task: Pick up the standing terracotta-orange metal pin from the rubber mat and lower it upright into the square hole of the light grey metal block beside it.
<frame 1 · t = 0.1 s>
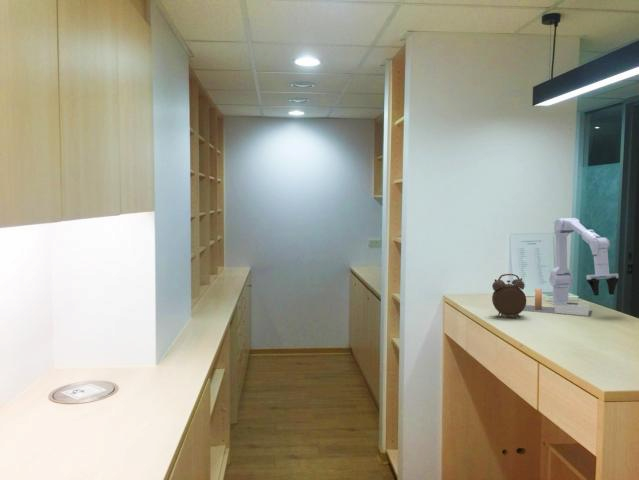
hand: (604, 294, 236), 11 cm above the counter, tool pointing down, fingers open, 7 cm apart
pipe connector: (510, 303, 273), on the counter
hole block: (572, 312, 248), resting on rubber mat
rubber mat: (556, 311, 252), on the counter
pin: (538, 309, 256), resting on rubber mat
alarm clock: (508, 317, 243), on the counter
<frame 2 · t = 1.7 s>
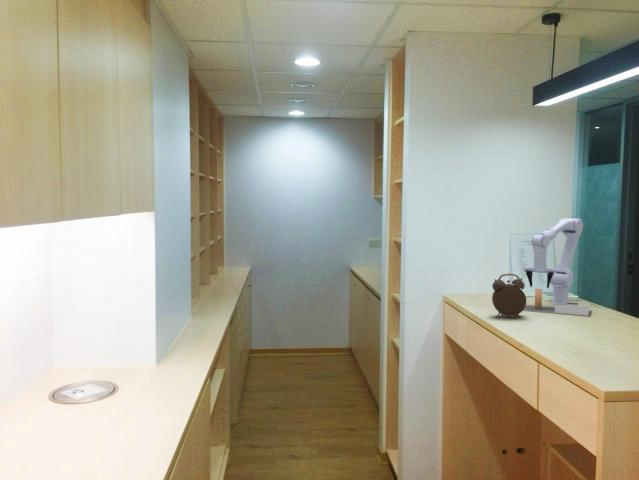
hand: (539, 287, 258), 11 cm above the counter, tool pointing down, fingers open, 7 cm apart
nothing on the counter moved.
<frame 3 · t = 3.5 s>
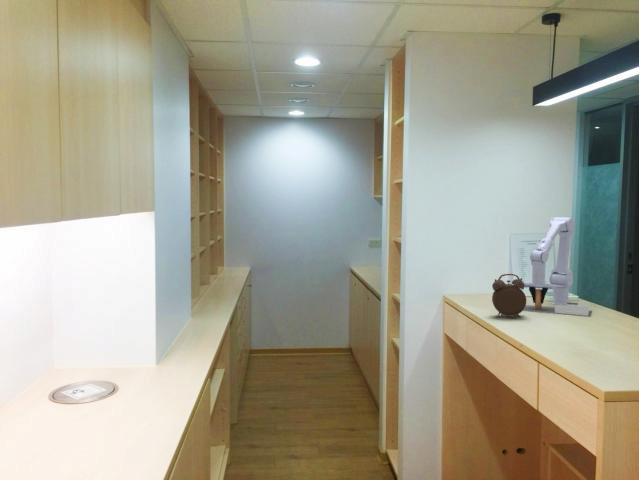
hand: (538, 302, 256), 3 cm above the counter, tool pointing down, fingers closed on pin, 3 cm apart
pin: (538, 309, 256), resting on rubber mat, touching gripper
everything else where it was.
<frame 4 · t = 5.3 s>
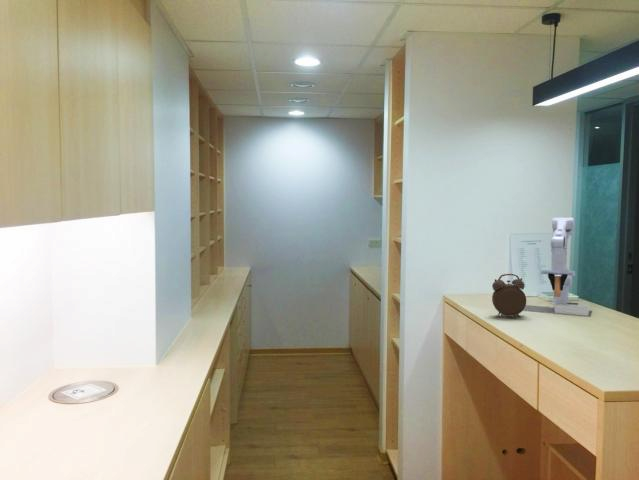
hand: (557, 289, 251), 10 cm above the counter, tool pointing down, fingers closed on pin, 3 cm apart
pin: (557, 296, 251), point 7 cm above the counter, touching gripper
everything else where it was.
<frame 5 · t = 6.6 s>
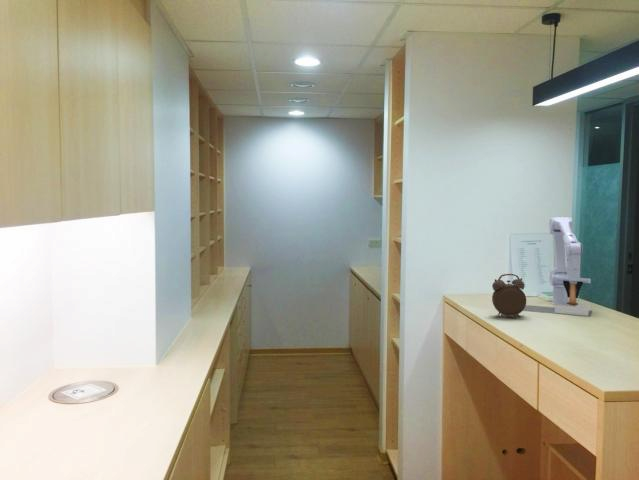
hand: (572, 297, 248), 7 cm above the counter, tool pointing down, fingers closed on pin, 3 cm apart
pin: (572, 303, 248), point 4 cm above the counter, touching gripper
everything else where it was.
when the fingers open (5 cm above the counter, at t = 7.4 s): pin drops 2 cm, resting on rubber mat.
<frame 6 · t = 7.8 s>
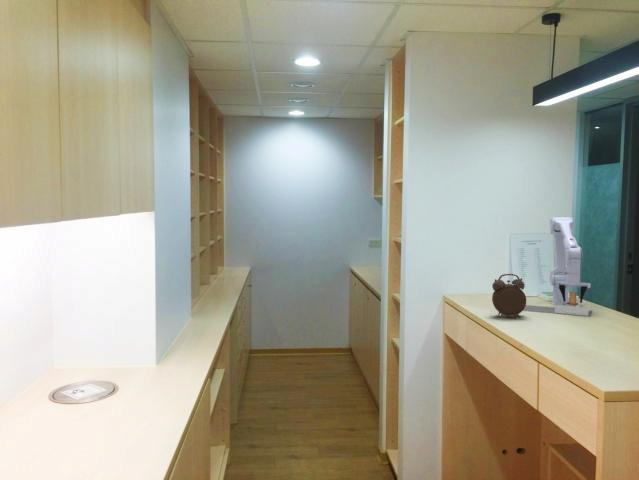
hand: (572, 301, 248), 5 cm above the counter, tool pointing down, fingers open, 6 cm apart
pin: (572, 311, 248), resting on rubber mat
everything else where it was.
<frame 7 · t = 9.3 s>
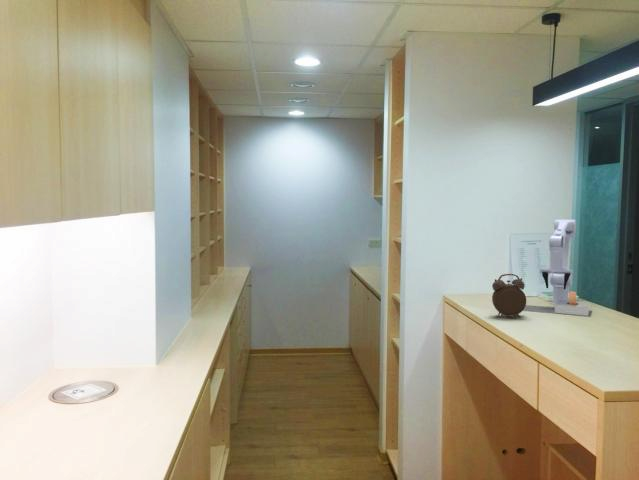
hand: (555, 288, 255), 10 cm above the counter, tool pointing down, fingers open, 7 cm apart
nothing on the counter moved.
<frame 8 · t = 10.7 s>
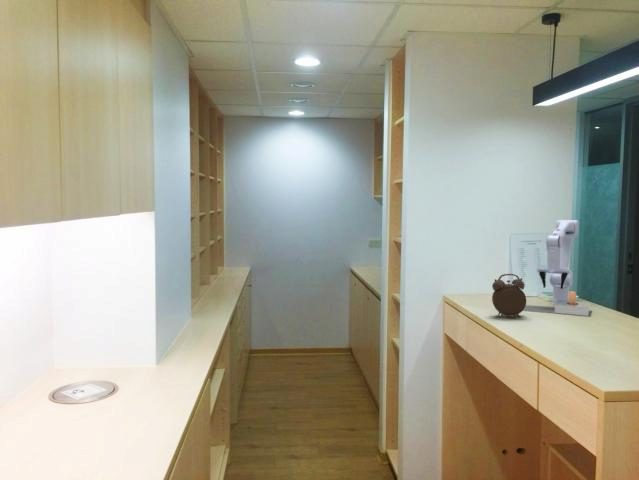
hand: (553, 288, 256), 10 cm above the counter, tool pointing down, fingers open, 7 cm apart
nothing on the counter moved.
at the end: pin 0.1 cm off-centre on the hole block, point 0.0 cm above the hole block's base; pin tilted 2°; the gripper is holding nothing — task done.
